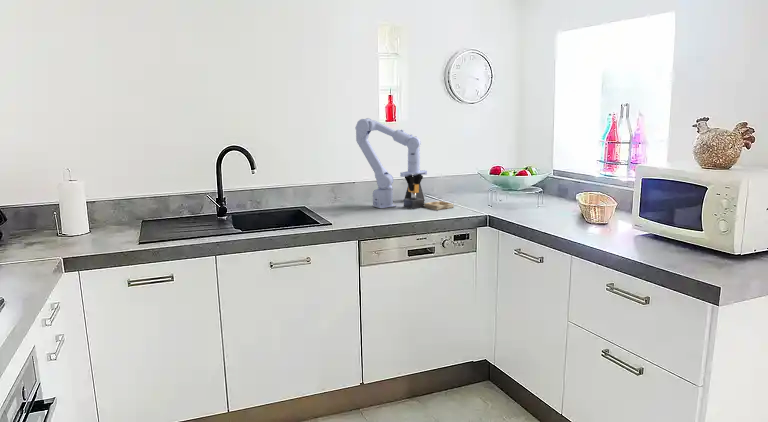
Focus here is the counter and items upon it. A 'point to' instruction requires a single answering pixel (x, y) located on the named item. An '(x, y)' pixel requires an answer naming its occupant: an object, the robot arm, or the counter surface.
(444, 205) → the key tray
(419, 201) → the chuck block
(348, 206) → the counter surface
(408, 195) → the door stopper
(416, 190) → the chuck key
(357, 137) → the robot arm
